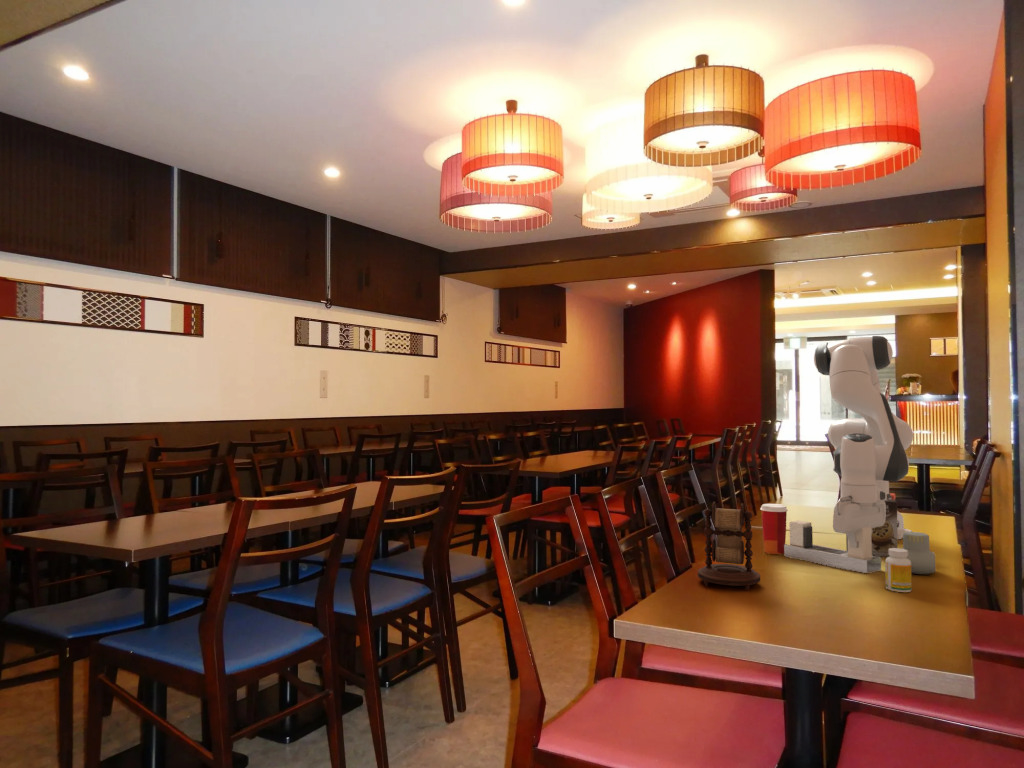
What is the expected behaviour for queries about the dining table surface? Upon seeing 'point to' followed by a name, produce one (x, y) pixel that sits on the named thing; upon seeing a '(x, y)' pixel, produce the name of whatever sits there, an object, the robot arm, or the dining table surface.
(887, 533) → the coffee box
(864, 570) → the rail
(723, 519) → the scroll
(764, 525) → the paper cup
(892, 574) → the supplement bottle
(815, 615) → the dining table surface
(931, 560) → the air freshener
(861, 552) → the cream upright block
